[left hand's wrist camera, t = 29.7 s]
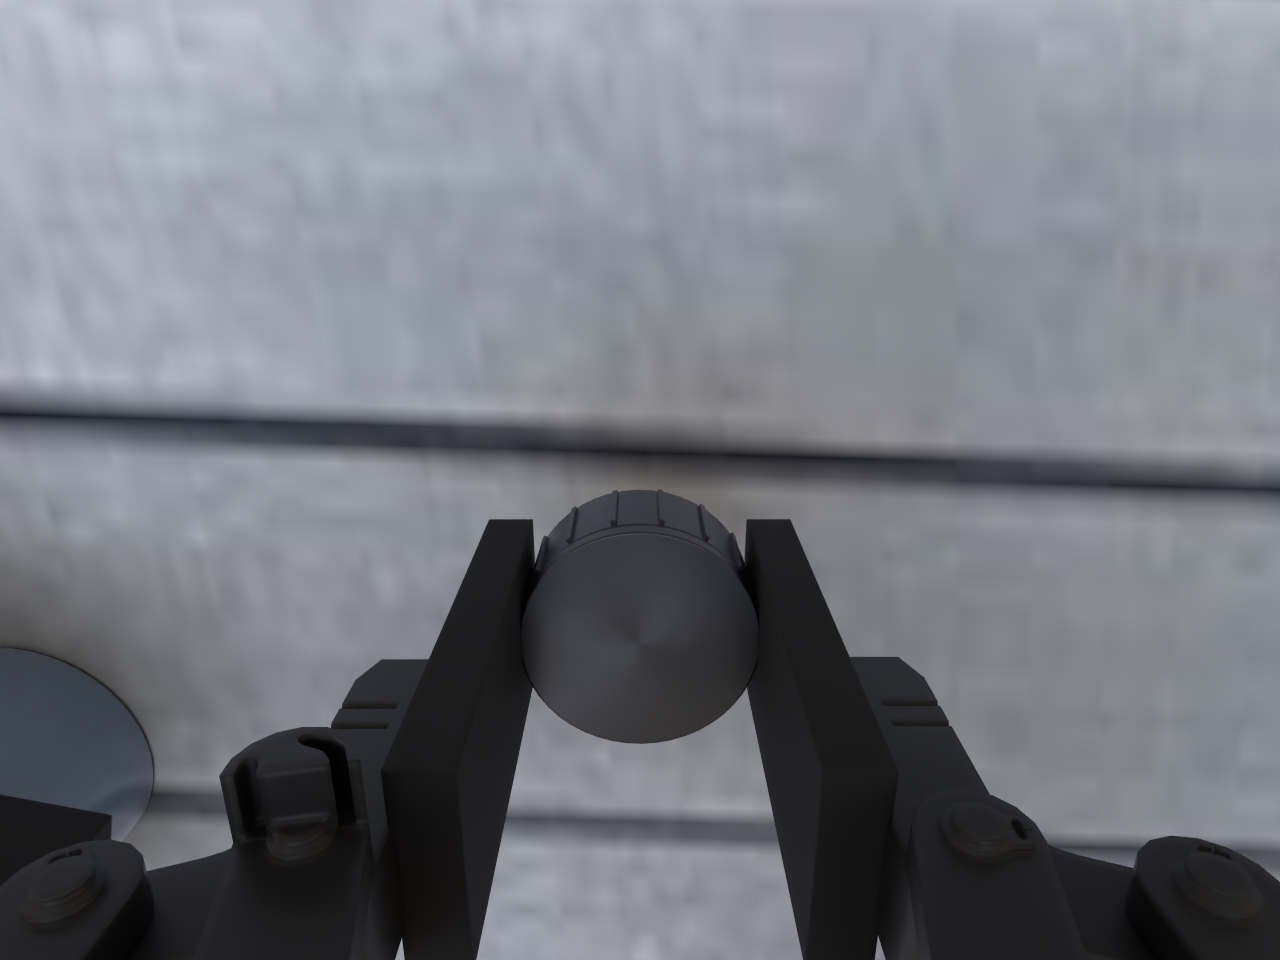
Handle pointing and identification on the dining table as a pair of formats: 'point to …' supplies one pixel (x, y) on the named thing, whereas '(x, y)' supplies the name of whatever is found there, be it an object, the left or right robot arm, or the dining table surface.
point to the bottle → (70, 741)
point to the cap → (639, 618)
